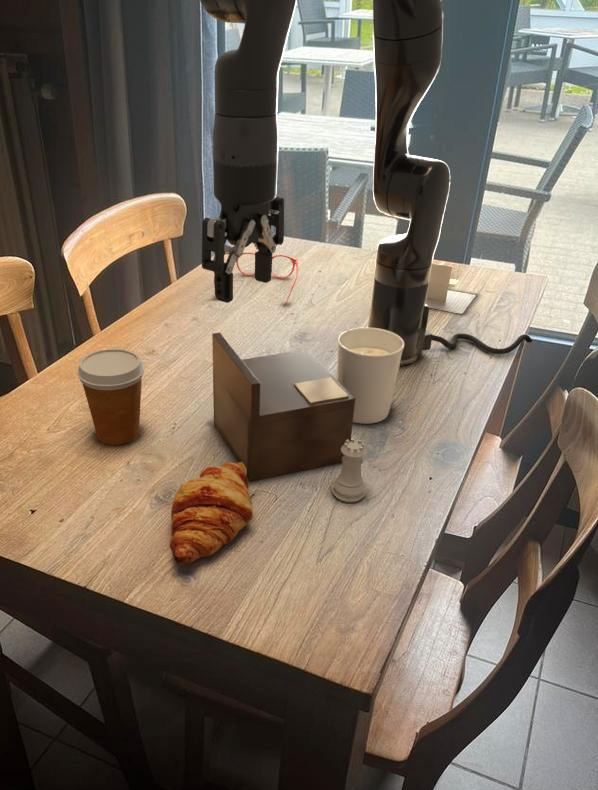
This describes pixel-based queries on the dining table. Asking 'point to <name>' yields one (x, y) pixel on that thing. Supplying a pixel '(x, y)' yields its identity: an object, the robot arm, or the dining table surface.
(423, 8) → the robot arm
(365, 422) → the candle holder
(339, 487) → the rook chess piece
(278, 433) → the walnut shelf
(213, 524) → the croissant
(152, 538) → the dining table surface
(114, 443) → the disposable coffee cup
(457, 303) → the architectural model
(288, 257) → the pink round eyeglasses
